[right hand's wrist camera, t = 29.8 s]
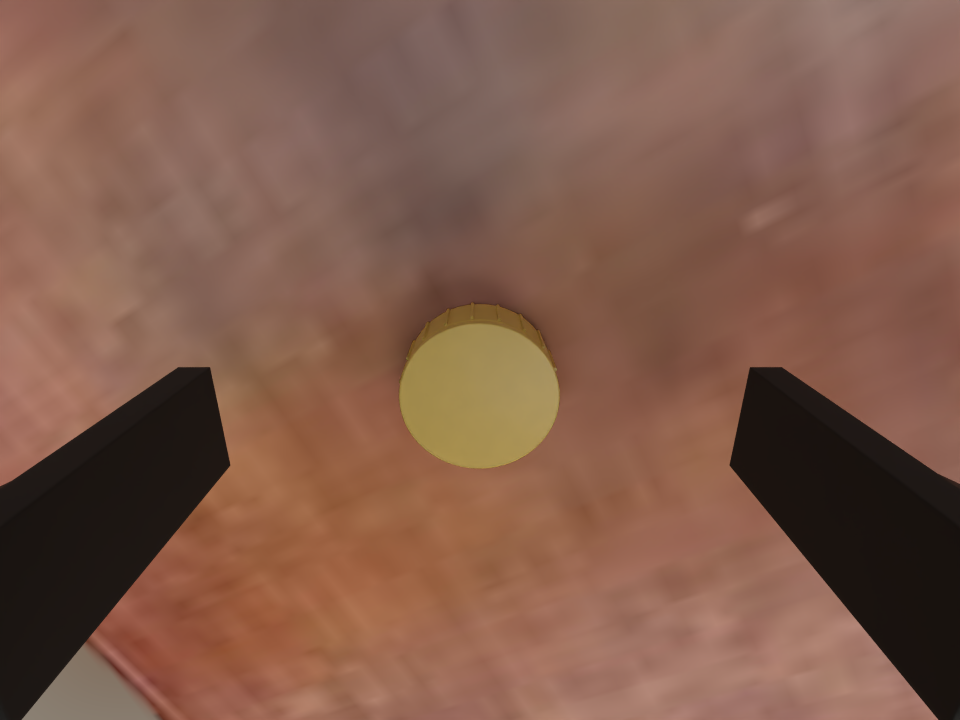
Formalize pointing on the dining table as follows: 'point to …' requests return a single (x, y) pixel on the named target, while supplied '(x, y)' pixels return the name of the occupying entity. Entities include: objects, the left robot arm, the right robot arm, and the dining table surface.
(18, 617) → the right robot arm
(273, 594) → the dining table surface
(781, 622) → the dining table surface
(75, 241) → the dining table surface
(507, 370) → the cap
